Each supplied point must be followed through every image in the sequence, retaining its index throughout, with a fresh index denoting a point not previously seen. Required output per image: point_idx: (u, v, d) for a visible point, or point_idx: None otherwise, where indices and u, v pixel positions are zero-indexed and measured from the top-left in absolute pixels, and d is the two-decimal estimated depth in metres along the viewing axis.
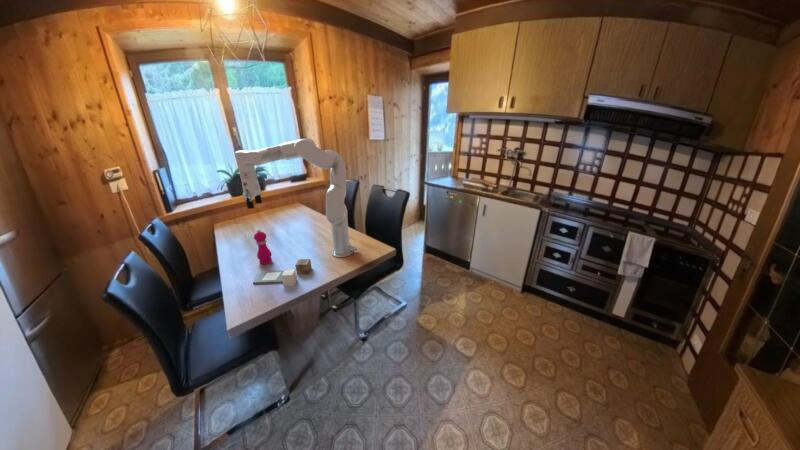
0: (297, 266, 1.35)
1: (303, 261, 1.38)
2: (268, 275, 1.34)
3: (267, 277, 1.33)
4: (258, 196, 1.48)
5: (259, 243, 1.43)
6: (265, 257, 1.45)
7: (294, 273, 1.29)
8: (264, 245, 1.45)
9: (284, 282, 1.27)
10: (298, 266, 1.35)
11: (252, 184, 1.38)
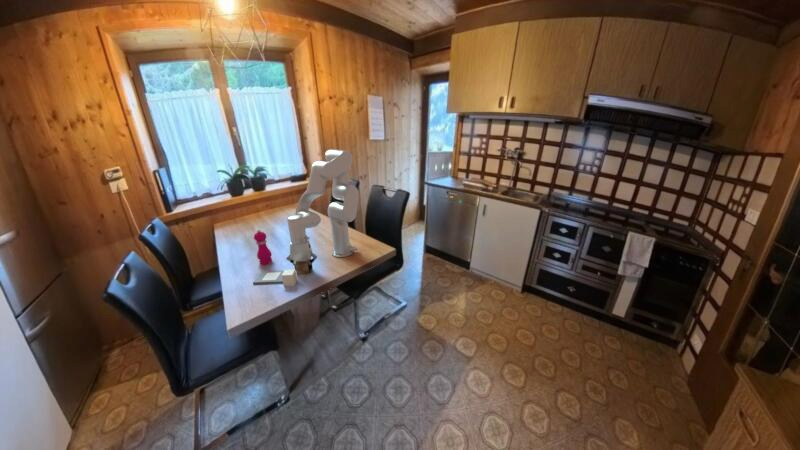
0: (297, 266, 1.35)
1: (303, 261, 1.38)
2: (268, 275, 1.34)
3: (267, 277, 1.33)
4: None
5: (259, 243, 1.43)
6: (265, 257, 1.45)
7: (294, 273, 1.29)
8: (264, 245, 1.45)
9: (284, 282, 1.27)
10: (298, 266, 1.35)
11: None
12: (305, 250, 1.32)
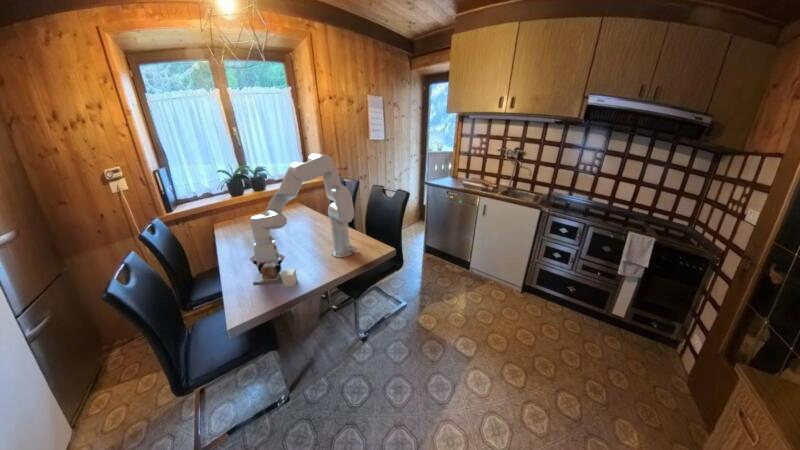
0: (263, 270, 1.29)
1: (270, 265, 1.32)
2: None
3: None
4: (261, 264, 1.32)
5: None
6: None
7: (294, 273, 1.29)
8: None
9: (284, 282, 1.27)
10: (264, 270, 1.29)
11: None
12: (270, 251, 1.26)
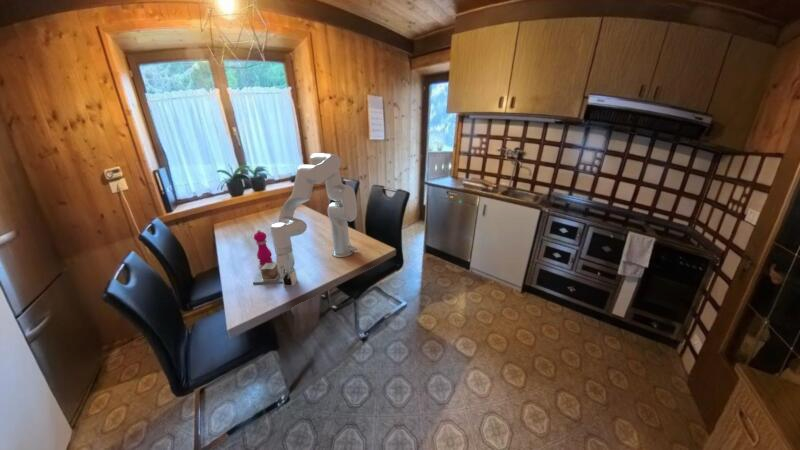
0: (263, 270, 1.29)
1: (270, 265, 1.32)
2: None
3: None
4: None
5: (259, 243, 1.43)
6: (265, 257, 1.45)
7: (294, 273, 1.29)
8: (264, 245, 1.45)
9: None
10: (264, 270, 1.29)
11: None
12: (292, 255, 1.28)
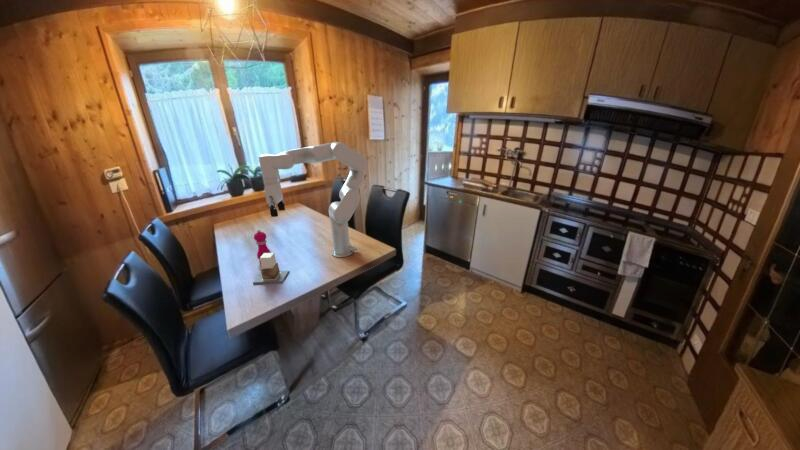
0: (263, 270, 1.29)
1: None
2: None
3: None
4: None
5: (259, 243, 1.43)
6: None
7: (273, 256, 1.31)
8: (264, 245, 1.45)
9: (263, 265, 1.29)
10: (264, 270, 1.29)
11: None
12: (281, 189, 1.34)
